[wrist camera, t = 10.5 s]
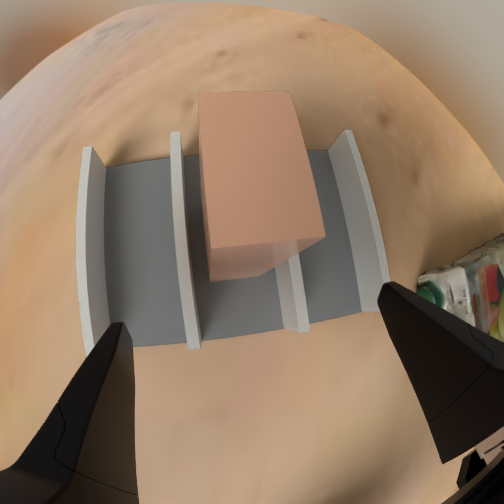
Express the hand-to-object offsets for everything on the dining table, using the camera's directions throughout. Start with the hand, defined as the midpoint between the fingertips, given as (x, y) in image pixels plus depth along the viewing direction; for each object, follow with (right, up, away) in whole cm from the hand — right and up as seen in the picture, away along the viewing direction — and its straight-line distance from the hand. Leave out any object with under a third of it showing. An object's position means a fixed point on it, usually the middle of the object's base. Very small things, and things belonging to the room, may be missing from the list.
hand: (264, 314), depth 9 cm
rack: (-2, +3, +9) cm, 10 cm away
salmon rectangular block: (-2, +3, +8) cm, 9 cm away
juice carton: (+23, -2, +12) cm, 26 cm away
